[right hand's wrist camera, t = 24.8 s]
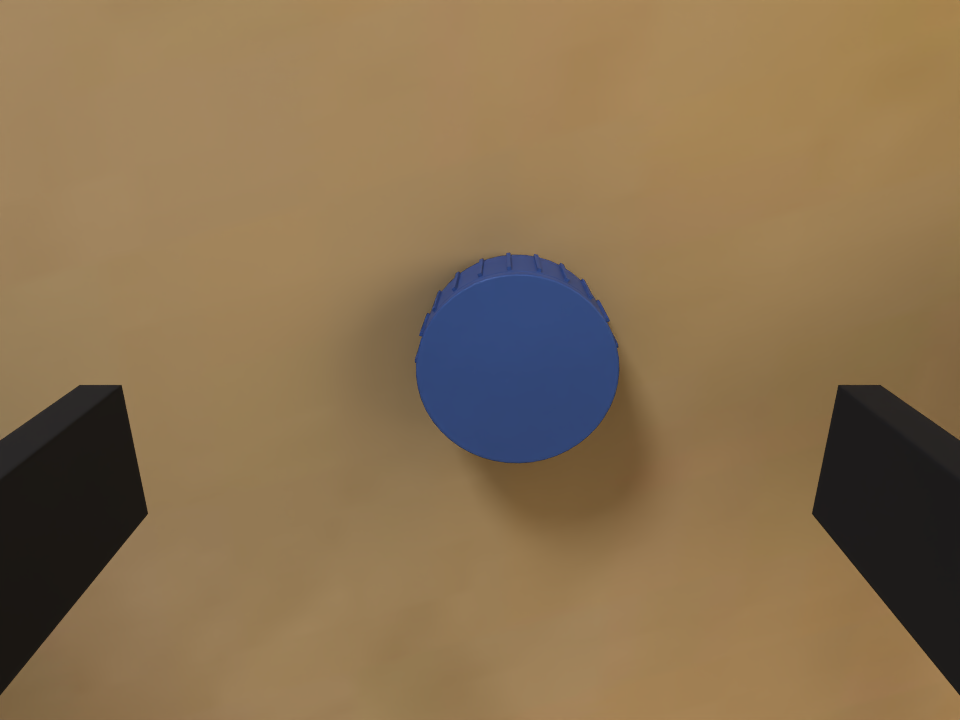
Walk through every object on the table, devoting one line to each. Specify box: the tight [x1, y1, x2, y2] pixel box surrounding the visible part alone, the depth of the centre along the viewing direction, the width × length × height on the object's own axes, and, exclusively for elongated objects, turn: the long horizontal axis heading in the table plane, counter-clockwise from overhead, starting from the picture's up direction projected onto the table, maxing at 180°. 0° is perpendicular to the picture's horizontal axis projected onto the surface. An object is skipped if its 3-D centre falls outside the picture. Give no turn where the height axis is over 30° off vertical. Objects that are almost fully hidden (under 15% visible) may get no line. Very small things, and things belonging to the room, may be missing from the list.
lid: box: [415, 253, 619, 463], centre depth 18 cm, size 5×5×2 cm
